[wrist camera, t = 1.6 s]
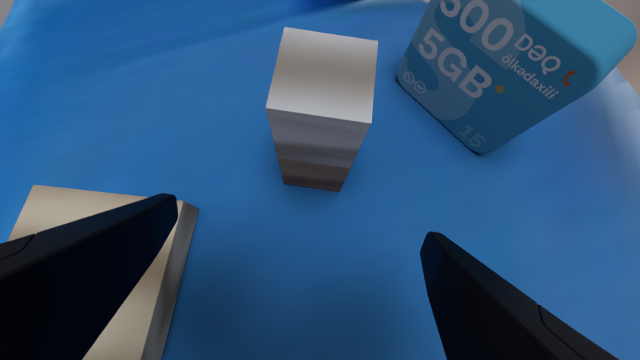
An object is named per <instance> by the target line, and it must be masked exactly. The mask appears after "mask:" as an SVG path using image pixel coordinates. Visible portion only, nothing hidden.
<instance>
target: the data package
mask: <svg viewBox="0 0 640 360" xmlns="http://www.w3.org/2000/svg"><path fill="white" fill-rule="evenodd" d="M636 39H637V29H636V26H635V25H634V24H633V22H632V21H631V20H630V19H629V18H627V17H626V16H624V15H623V14H621V13H620V12H618V11H617V10H615V9H614V8H612V7H611V6H609V5H608V4H606V3H605V2H604V1H602V0H430V2H429V4H428V6H427V8H426V10H425V12H424V15H423V17H422V19H421V21H420V23H419V25H418V27H417V29H416V31H415V34H414V36H413V38H412V40H411V42H410V44H409V46H408V48H407V50H406V53H405V55H404V57H403V59H402V61H401V63H400V65H399V67H398V71H397V77H398V81H399V83H400V85H401V86H402V87H403V88H404V89H405V90H406V91H407V92H408V93H409V94H410V95H411V96H412V97H413V98H415V99H416V100H417V101H418V102H419V103H420V104H421V105H422V106H423V107H424V108H425V109H427V110H428V111H429V112H430V113H431V114H432V115H433V116H434V117H435V118H436V119H437V120H439V121H440V122H441V123H442V124H443V125H444V126H445V127H446V128H447V129H448V130H449V131H451V132H452V133H453V134H454V135H455V136H456V137H457V138H458V139H459V140H460V141H461V142H463V143H464V144H465V145H466V146H467V147H468V148H469V149H471V150H473V151H475V152H478V153H489V152H491V151H493V150H495V149H497V148H498V147H500V146H501V145H503V144H505V143H506V142H508V141H510V140H511V139H513V138H515V137H516V136H518V135H519V134H521V133H523V132H524V131H526V130H528V129H529V128H531V127H533V126H534V125H536V124H537V123H539V122H541V121H542V120H544V119H546V118H547V117H549V116H551V115H552V114H554V113H555V112H557V111H559V110H560V109H562V108H564V107H565V106H567V105H569V104H570V103H572V102H573V101H575V100H577V99H578V98H580V97H582V96H583V95H585V94H587V93H588V92H590V91H591V90H593V89H594V88H595V87H596V86H597V85H598V84H599V83H600V82H601V81H602V80H603V79H604V78H605V77H606V76H607V75H608V74H609V73H610V72H611V71H612V69H613V68H614V67H615V66H616V65H617V64H618V63H619V62H620V61H621V60H622V59H623V58H624V57H625V56H626V55H627V54H628V52H629V51H630V50H631V49H632V48H633V46H634V44H635V42H636Z"/></svg>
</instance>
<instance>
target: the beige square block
mask: <svg viewBox="0 0 640 360" xmlns="http://www.w3.org/2000/svg"><path fill="white" fill-rule="evenodd" d="M145 198H149V197H142V196H133V195H123V194H114V193H105V192H96V191H86V190H77V189H68V188H59V187H49V186H40V185H33V188H32V190H31V192H30V194H29V196H28V198H27V200H26V203H25V205H24V207H23V209H22V211H21V213H20V216H19V218H18V220H17V222H16V224H15V226H14V228H13V231H12V233H11V235H10V237H9V239H8V241H11V240H14V239H18V238H21V237H24V236H27V235H30V234H36V233H37V232H40V231H43V230H47V229H50V228H53V227H56V226H59V225H63V224H66V223H69V222H72V221H75V220H78V219H82V218H85V217H88V216H91V215H94V214H98V213H101V212H104V211H107V210H110V209H114V208H117V207H120V206H123V205H126V204H129V203H133V202H136V201H139V200H142V199H145ZM177 206H178V220H177V222H176V224H175V226H174V227H173V229H172V231H171V233H170V234H169V236H168V238H167V240H166V241H165V243H164V245H163V247H162V249H161V250H160V252H159V254H158V255H157V257H156V258H155V260H154V261H153V263H152V264H151V265H150V267H149V268H148V270H147V271H146V272H145V274H144V275H143V276H142V278H141V279H140V281H139V282H138V283H137V285H136V286H135V288H134V289H133V290H132V292H131V293H130V294H129V296H128V297H127V299H126V300H125V301H124V303H123V304H122V306H121V307H120V308H119V310H118V311H117V312H116V314H115V315H114V317H113V318H112V319H111V321H110V322H109V323H108V325H107V326H106V328H105V329H104V330H103V332H102V333H101V335H100V336H99V337H98V339H97V340H96V341H95V343H94V344H93V346H92V347H91V348H90V350H89V351H88V352H87V354H86V355H85V357H84V358H83V359H82V360H159V359H161V358H162V355H163V351H164V347H165V343H166V339H167V335H168V331H169V327H170V323H171V319H172V315H173V311H174V307H175V303H176V299H177V295H178V291H179V287H180V283H181V279H182V275H183V271H184V267H185V263H186V259H187V255H188V251H189V247H190V243H191V239H192V235H193V230H194V226H195V222H196V218H197V214H198V210H199V209H197V208H196V207H194V206H192V205H190V204H188V203H186V202H184V201H179V200H177ZM8 241H7V242H8Z"/></svg>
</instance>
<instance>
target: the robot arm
mask: <svg viewBox="0 0 640 360" xmlns="http://www.w3.org/2000/svg"><path fill="white" fill-rule="evenodd" d="M177 220H178V206H177V199H176V196H175V195H172V194H165V193H162V194H158V195H155V196H152V197H149V198H145V199H142V200H139V201H136V202H133V203H129V204H126V205H123V206H120V207H117V208H114V209H110V210H107V211H104V212H101V213H98V214H94V215H91V216H88V217H85V218H82V219H78V220H75V221H72V222H69V223H66V224H63V225H59V226H56V227H53V228H50V229H47V230H43V231H40V232H37V233H36V234H30V235H27V236H24V237H21V238H18V239H14V240H11V241H8V242H5V243H1V244H0V360H82V359H83V358H84V357H85V355H86V354H87V352H88V351H89V350H90V348H91V347H92V346H93V344H94V343H95V341H96V340H97V339H98V337H99V336H100V335H101V333H102V332H103V330H104V329H105V328H106V326H107V325H108V323H109V322H110V321H111V319H112V318H113V317H114V315H115V314H116V312H117V311H118V310H119V308H120V307H121V306H122V304H123V303H124V301H125V300H126V299H127V297H128V296H129V294H130V293H131V292H132V290H133V289H134V288H135V286H136V285H137V283H138V282H139V281H140V279H141V278H142V276H143V275H144V274H145V272H146V271H147V270H148V268H149V267H150V265H151V264H152V263H153V261H154V260H155V258H156V257H157V255H158V254H159V252H160V250H161V249H162V247H163V245H164V243H165V241H166V240H167V238H168V236H169V234H170V233H171V231H172V229H173V227H174V226H175V224H176V222H177ZM420 257H421V262H422V268H423V273H424V279H425V284H426V289H427V294H428V298H429V302H430V305H431V308H432V311H433V315H434V318H435V321H436V325H437V328H438V331H439V335H440V338H441V341H442V345H443V348H444V351H445V355H446V358H447V360H619V359H617V358H616V357H614V356H613V355H611V354H610V353H608V352H607V351H605V350H604V349H602V348H601V347H599V346H598V345H596V344H595V343H593V342H592V341H591V340H589V339H588V338H586V337H585V336H583V335H582V334H580V333H579V332H577V331H576V330H574V329H573V328H571V327H570V326H569V325H567V324H566V323H564V322H563V321H562V320H560V319H559V318H557V317H556V316H554V315H553V314H552V313H550V312H549V311H548V310H546V309H545V308H543V307H542V306H541V305H537V303H536V302H535V301H534V300H532V299H531V298H530V297H528V296H527V295H525V294H524V293H523V292H521V291H520V290H519V289H517V288H516V287H514V286H513V285H512V284H510V283H509V282H508V281H506V280H505V279H503V278H502V277H501V276H499V275H498V274H497V273H495V272H494V271H492V270H491V269H490V268H488V267H487V266H486V265H484V264H483V263H481V262H480V261H479V260H477V259H476V258H475V257H473V256H472V255H470V254H469V253H468V252H466V251H465V250H464V249H462V248H461V247H459V246H458V245H457V244H455V243H454V242H453V241H451V240H450V239H448V238H447V237H446V236H444V235H443V234H441V233H438V232H428V233H427V235H426V237H425V240H424V242H423V245H422V247H421V251H420Z"/></svg>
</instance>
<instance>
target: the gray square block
mask: <svg viewBox="0 0 640 360" xmlns="http://www.w3.org/2000/svg"><path fill="white" fill-rule="evenodd" d="M377 48H378V41H373V40H366V39H360V38H353V37H347V36H340V35H333V34H327V33H320V32H314V31H307V30H301V29H294V28H287V27H284V31H283V35H282V40H281V44H280V48H279V53H278V57H277V61H276V66H275V70H274V74H273V79H272V83H271V87H270V91H269V96H268V100H267V104H266V111H267V115H268V119H269V124H270V128H271V132H272V136H273V140H274V144H275V148H276V152H277V156H278V160H279V164H280V168H281V173H282V177H283V181H284V184H288V185H294V186H301V187H308V188H315V189H322V190H329V191H336V192H339V191H340V189H341V187H342V185H343V183H344V181H345V178H346V176H347V174H348V172H349V170H350V168H351V166H352V164H353V161H354V159H355V157H356V155H357V153H358V151H359V149H360V147H361V145H362V142H363V140H364V138H365V136H366V134H367V132H368V130H369V128H370V125H371V122H372V110H373V97H374V85H375V72H376V60H377Z"/></svg>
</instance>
